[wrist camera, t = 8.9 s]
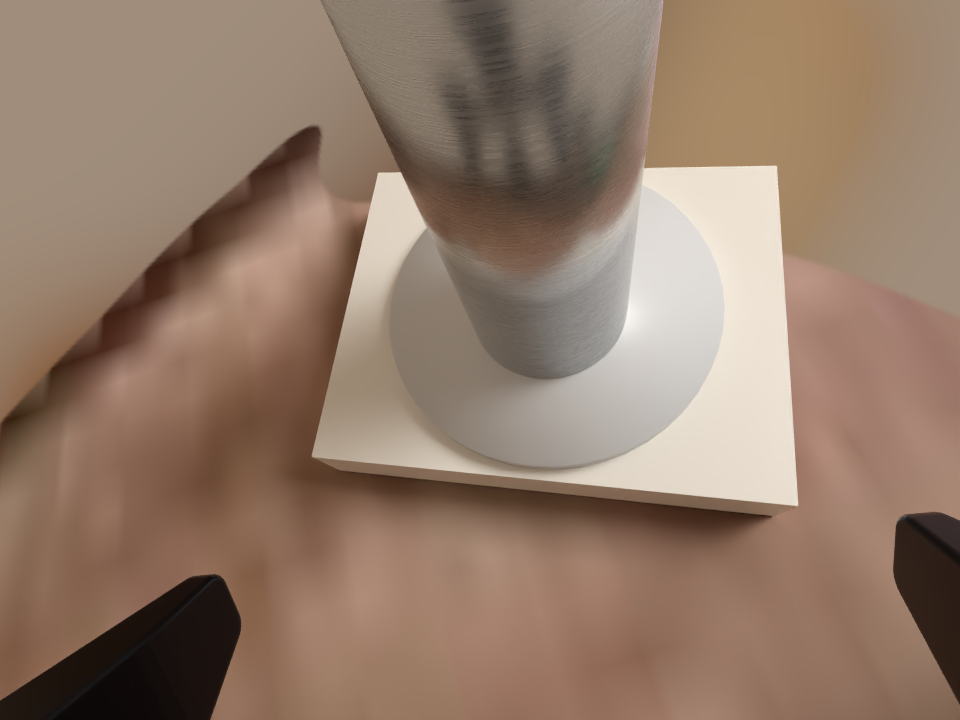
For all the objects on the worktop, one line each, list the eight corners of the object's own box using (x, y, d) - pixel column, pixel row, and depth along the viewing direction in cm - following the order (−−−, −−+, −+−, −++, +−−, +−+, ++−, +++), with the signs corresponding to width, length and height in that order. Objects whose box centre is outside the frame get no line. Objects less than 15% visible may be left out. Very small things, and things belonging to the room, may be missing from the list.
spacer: (578, 407, 17) (536, -60, 5) (444, 336, 18) (158, -144, 6) (655, 276, 18) (782, -380, 6) (521, 220, 19) (402, -379, 7)
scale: (774, 516, 17) (804, 503, 15) (339, 470, 20) (304, 453, 18) (758, 195, 21) (780, 142, 19) (398, 197, 24) (376, 153, 22)
